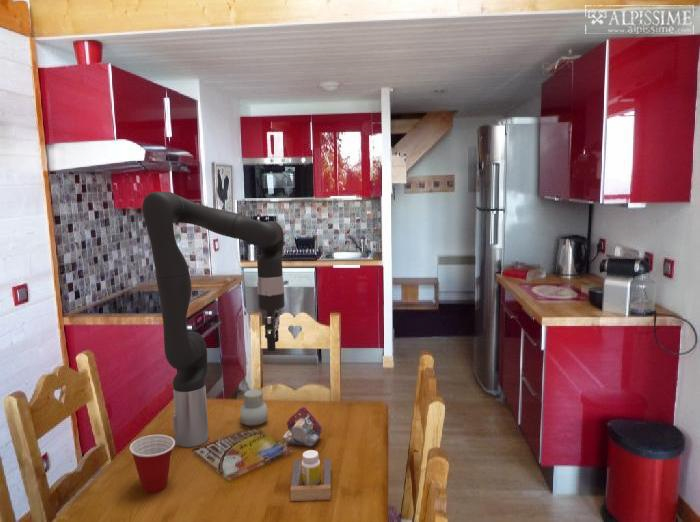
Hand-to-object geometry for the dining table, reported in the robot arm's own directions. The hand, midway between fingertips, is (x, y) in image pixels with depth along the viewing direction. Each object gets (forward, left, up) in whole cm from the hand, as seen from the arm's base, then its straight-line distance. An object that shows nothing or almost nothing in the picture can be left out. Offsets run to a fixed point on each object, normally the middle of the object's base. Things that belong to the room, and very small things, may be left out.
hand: (273, 346), depth 145 cm
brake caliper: (+8, 0, -30) cm, 31 cm away
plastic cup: (-29, -20, -30) cm, 46 cm away
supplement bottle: (+11, -22, -30) cm, 39 cm away
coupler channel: (+11, -21, -30) cm, 38 cm away
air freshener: (-9, +15, -30) cm, 35 cm away
